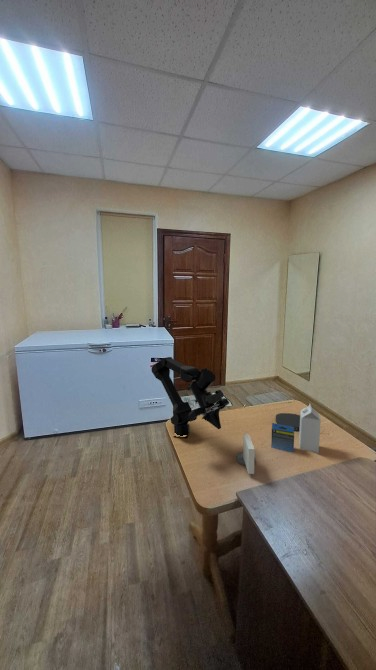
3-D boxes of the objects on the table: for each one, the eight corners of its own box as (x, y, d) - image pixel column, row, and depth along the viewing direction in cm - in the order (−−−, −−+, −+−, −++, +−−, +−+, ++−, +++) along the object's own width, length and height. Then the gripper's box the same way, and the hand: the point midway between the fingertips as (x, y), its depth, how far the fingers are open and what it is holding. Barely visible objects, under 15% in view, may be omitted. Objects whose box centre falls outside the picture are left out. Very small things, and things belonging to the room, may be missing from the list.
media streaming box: (303, 419, 141) (304, 414, 141) (309, 433, 127) (309, 427, 127) (274, 416, 144) (275, 411, 144) (277, 430, 130) (277, 424, 130)
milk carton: (316, 445, 116) (318, 404, 113) (318, 454, 109) (321, 410, 107) (298, 442, 118) (300, 402, 116) (299, 451, 112) (301, 408, 109)
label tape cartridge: (294, 450, 113) (295, 422, 111) (293, 455, 109) (294, 427, 108) (272, 445, 117) (273, 419, 115) (270, 450, 113) (271, 422, 111)
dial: (235, 454, 108) (235, 429, 107) (252, 454, 108) (253, 429, 106) (241, 477, 95) (241, 449, 93) (261, 477, 95) (261, 449, 93)
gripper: (192, 390, 101) (213, 428, 94) (226, 379, 113) (246, 413, 106) (180, 403, 108) (198, 439, 102) (213, 392, 120) (231, 424, 113)
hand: (219, 428), depth 105 cm, fingers closed
